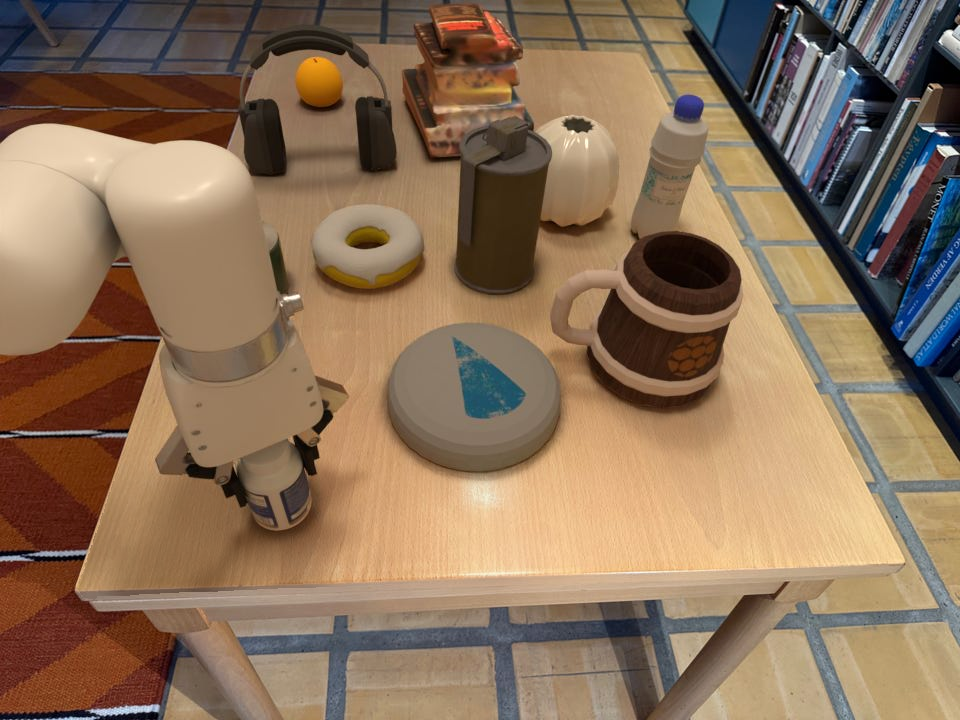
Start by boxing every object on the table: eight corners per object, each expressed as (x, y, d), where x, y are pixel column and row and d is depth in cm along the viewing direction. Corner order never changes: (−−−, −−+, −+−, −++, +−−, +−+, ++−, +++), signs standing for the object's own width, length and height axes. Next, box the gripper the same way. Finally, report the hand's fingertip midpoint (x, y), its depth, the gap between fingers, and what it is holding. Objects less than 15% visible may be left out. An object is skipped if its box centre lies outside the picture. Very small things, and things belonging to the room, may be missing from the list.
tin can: (213, 309, 76) (197, 259, 71) (229, 266, 82) (215, 217, 76) (282, 311, 77) (271, 261, 71) (293, 268, 82) (284, 219, 77)
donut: (434, 238, 88) (435, 207, 85) (408, 304, 79) (407, 273, 75) (336, 221, 89) (332, 190, 86) (299, 285, 80) (292, 253, 76)
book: (535, 157, 104) (550, 48, 92) (426, 166, 101) (426, 54, 88) (497, 92, 119) (505, -9, 106) (401, 98, 115) (398, -7, 103)
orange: (346, 112, 111) (341, 68, 105) (298, 114, 109) (291, 69, 104) (343, 91, 116) (339, 48, 110) (298, 92, 114) (291, 49, 109)
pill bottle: (307, 474, 62) (291, 412, 55) (317, 522, 59) (302, 462, 52) (248, 489, 61) (225, 427, 53) (256, 539, 57) (231, 480, 50)
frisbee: (507, 320, 78) (511, 289, 74) (592, 434, 67) (601, 404, 64) (362, 366, 72) (359, 334, 68) (430, 499, 61) (430, 470, 57)
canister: (495, 234, 90) (508, 93, 75) (549, 272, 85) (575, 129, 70) (435, 265, 84) (437, 120, 70) (489, 307, 80) (504, 161, 65)
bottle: (631, 247, 90) (672, 109, 75) (622, 218, 94) (659, 83, 80) (678, 248, 90) (728, 111, 75) (667, 220, 95) (712, 85, 80)
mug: (698, 320, 80) (741, 220, 69) (728, 417, 70) (784, 317, 59) (539, 312, 80) (557, 209, 69) (545, 408, 69) (568, 305, 58)
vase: (496, 205, 95) (504, 118, 85) (560, 174, 101) (575, 90, 92) (565, 251, 88) (583, 163, 78) (629, 215, 95) (652, 129, 85)
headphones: (394, 150, 103) (389, 17, 88) (398, 172, 99) (393, 36, 84) (249, 156, 99) (219, 17, 85) (247, 178, 95) (214, 37, 81)
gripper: (326, 261, 48) (347, 410, 62) (74, 339, 42) (160, 488, 55) (369, 323, 44) (382, 469, 57) (97, 420, 37) (184, 560, 51)
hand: (273, 477), depth 56 cm, fingers closed on pill bottle, 5 cm apart
